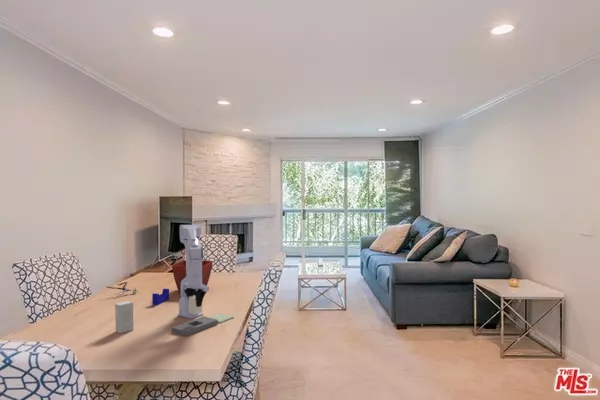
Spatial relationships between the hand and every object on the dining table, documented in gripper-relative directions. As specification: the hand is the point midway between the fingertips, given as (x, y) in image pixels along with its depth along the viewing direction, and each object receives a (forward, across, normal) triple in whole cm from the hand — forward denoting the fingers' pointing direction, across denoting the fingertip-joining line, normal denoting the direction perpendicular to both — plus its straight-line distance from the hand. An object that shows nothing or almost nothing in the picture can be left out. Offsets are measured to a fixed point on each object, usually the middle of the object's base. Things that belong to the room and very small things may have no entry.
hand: (195, 305), depth 170 cm
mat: (+10, 0, +15) cm, 18 cm away
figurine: (+11, -77, +15) cm, 79 cm away
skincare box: (+10, -23, -19) cm, 31 cm away
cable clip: (+10, -48, +18) cm, 52 cm away
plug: (+3, 0, 0) cm, 3 cm away
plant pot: (+10, -52, +45) cm, 70 cm away
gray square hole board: (+10, 0, 0) cm, 10 cm away
